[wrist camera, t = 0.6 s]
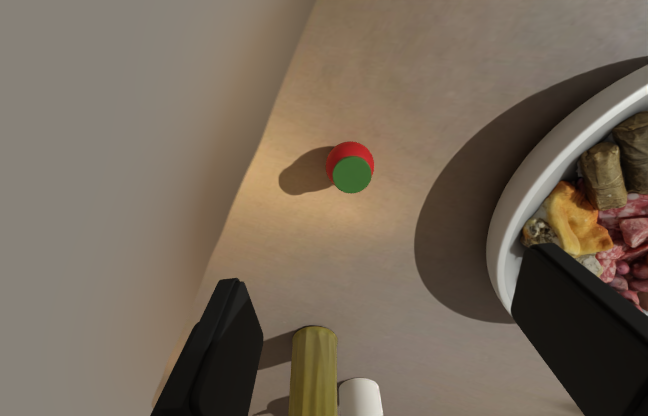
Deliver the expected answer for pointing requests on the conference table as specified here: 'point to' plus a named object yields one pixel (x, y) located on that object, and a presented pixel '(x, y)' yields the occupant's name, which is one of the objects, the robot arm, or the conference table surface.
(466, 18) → the conference table surface
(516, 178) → the bowl
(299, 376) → the vase
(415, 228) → the conference table surface
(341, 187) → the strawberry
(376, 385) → the candle
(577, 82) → the conference table surface
